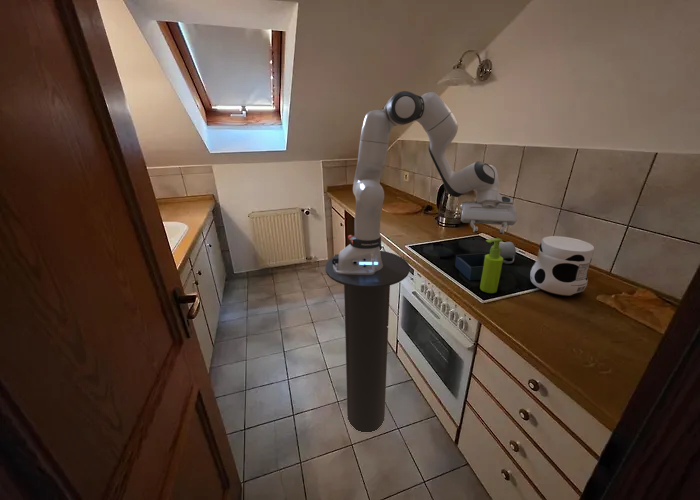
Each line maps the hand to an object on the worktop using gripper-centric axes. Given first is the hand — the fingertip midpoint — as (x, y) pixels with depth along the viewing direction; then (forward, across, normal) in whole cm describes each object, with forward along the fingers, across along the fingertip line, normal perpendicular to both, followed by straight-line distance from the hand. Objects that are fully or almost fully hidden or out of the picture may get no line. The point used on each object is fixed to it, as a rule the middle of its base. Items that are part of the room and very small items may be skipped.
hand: (488, 232), depth 115 cm
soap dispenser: (+22, 0, +4) cm, 22 cm away
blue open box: (+11, -1, +14) cm, 18 cm away
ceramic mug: (0, +13, +26) cm, 28 cm away
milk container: (+17, +25, +8) cm, 31 cm away
